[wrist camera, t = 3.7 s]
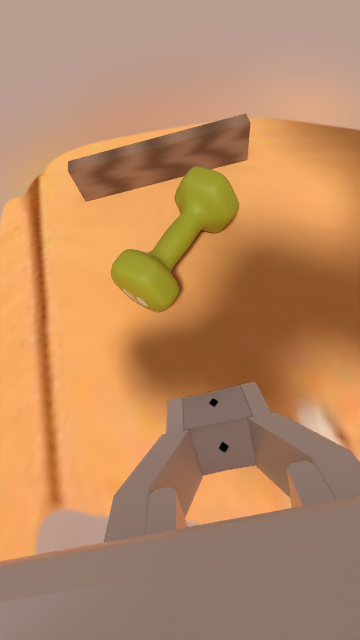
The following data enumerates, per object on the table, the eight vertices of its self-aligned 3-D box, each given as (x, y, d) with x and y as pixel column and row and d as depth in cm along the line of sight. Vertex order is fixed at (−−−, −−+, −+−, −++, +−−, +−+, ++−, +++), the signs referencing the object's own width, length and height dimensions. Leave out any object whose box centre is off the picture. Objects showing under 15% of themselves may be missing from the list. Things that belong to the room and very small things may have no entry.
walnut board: (243, 150, 40) (245, 113, 35) (247, 159, 39) (250, 122, 34) (85, 191, 41) (68, 161, 37) (85, 201, 40) (68, 171, 36)
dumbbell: (191, 203, 38) (184, 153, 31) (243, 223, 35) (247, 174, 28) (116, 296, 33) (90, 261, 27) (169, 327, 31) (155, 297, 24)
